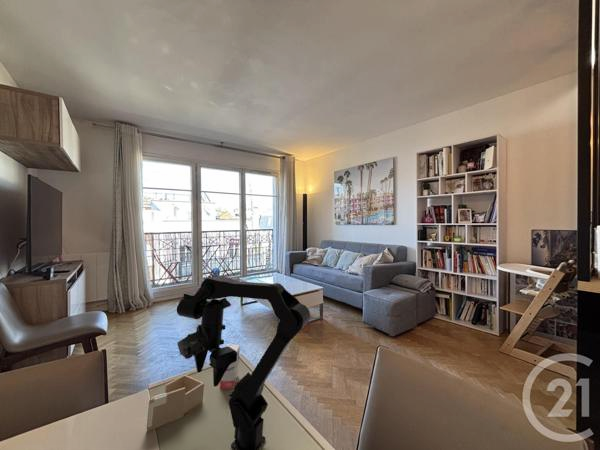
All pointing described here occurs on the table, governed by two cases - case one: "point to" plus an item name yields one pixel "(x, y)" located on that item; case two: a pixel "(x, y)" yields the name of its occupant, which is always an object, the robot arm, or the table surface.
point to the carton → (188, 391)
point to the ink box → (231, 371)
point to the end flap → (165, 408)
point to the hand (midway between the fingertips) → (207, 378)
